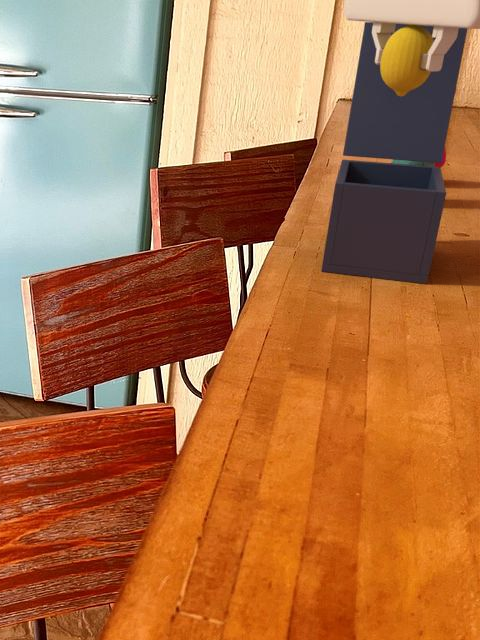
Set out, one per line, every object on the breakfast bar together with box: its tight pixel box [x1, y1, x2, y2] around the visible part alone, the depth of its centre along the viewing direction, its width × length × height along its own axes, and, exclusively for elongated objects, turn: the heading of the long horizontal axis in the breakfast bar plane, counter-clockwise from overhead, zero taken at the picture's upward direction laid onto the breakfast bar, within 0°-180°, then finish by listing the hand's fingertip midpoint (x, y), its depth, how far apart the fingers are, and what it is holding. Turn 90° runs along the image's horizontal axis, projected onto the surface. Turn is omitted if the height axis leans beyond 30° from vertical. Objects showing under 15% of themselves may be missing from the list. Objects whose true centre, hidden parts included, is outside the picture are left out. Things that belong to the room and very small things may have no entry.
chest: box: [320, 159, 447, 285], centre depth 112 cm, size 16×12×11 cm
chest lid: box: [342, 21, 468, 163], centre depth 114 cm, size 17×12×1 cm
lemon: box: [380, 25, 434, 97], centre depth 100 cm, size 6×6×8 cm
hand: (406, 68), depth 100 cm, fingers closed on lemon, 5 cm apart
